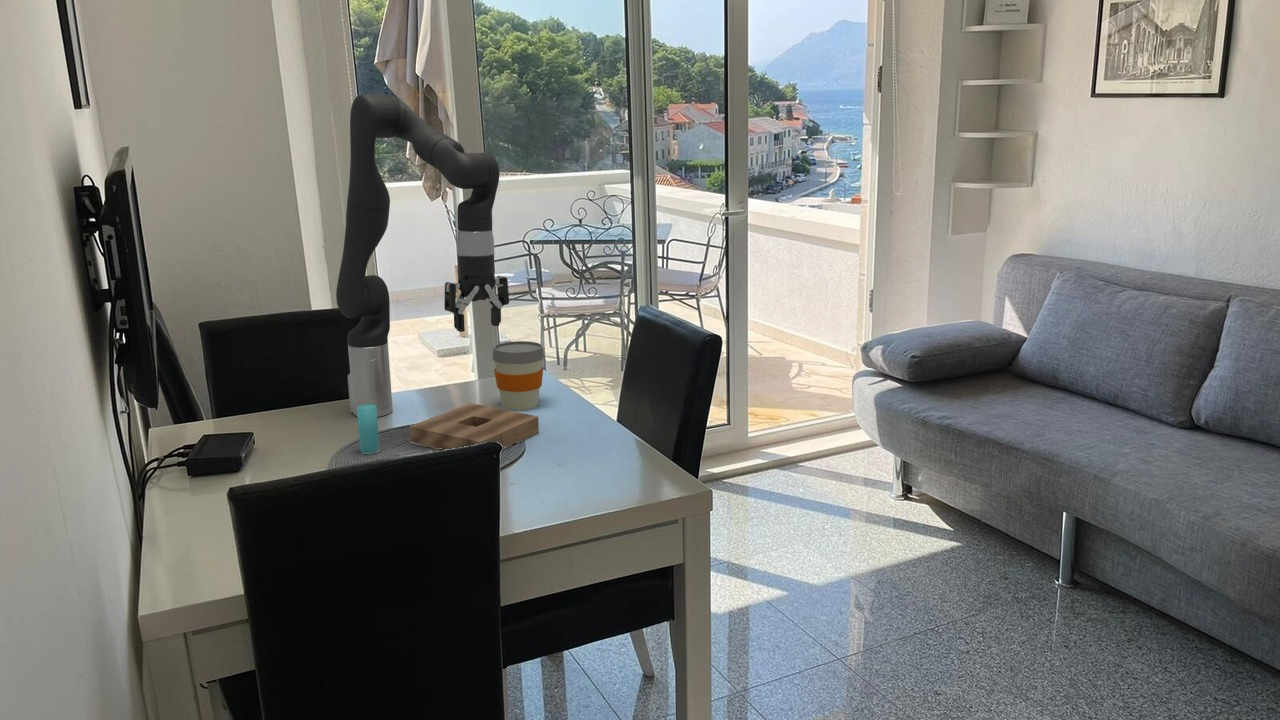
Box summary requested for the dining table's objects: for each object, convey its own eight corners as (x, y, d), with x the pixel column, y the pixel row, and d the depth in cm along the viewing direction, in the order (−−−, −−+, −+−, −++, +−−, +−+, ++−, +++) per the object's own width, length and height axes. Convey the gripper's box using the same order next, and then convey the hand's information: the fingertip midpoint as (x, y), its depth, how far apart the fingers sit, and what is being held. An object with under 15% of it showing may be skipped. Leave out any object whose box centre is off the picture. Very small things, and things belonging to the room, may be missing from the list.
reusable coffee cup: (525, 395, 238) (524, 338, 235) (555, 405, 230) (554, 347, 226) (484, 404, 230) (482, 346, 227) (513, 416, 221) (511, 355, 218)
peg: (356, 452, 197) (352, 407, 194) (370, 447, 200) (366, 402, 198) (369, 455, 195) (366, 410, 192) (383, 450, 198) (380, 405, 196)
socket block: (410, 443, 202) (409, 426, 201) (470, 419, 219) (470, 403, 218) (481, 460, 192) (480, 441, 191) (538, 433, 209) (538, 416, 208)
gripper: (495, 246, 198) (496, 320, 202) (436, 252, 189) (439, 329, 193) (514, 251, 192) (516, 327, 196) (454, 257, 183) (457, 336, 187)
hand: (478, 328), depth 195 cm, fingers open, 8 cm apart
